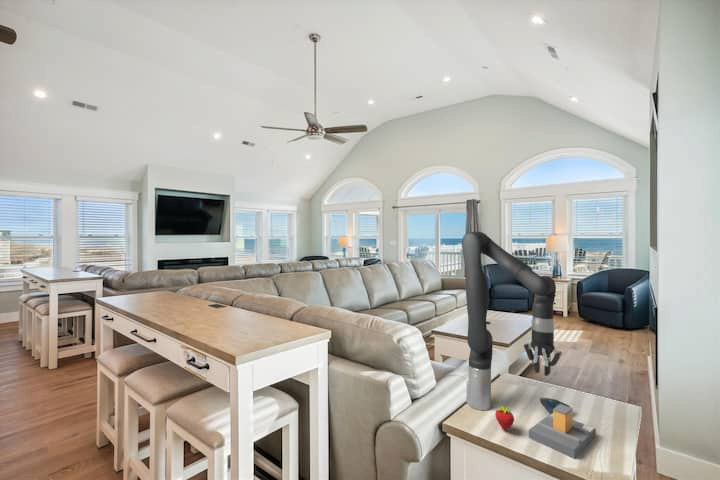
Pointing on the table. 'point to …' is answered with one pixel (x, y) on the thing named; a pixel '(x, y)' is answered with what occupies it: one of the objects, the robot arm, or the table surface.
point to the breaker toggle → (562, 418)
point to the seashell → (550, 404)
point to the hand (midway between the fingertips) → (542, 373)
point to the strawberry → (504, 418)
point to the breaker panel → (563, 436)
